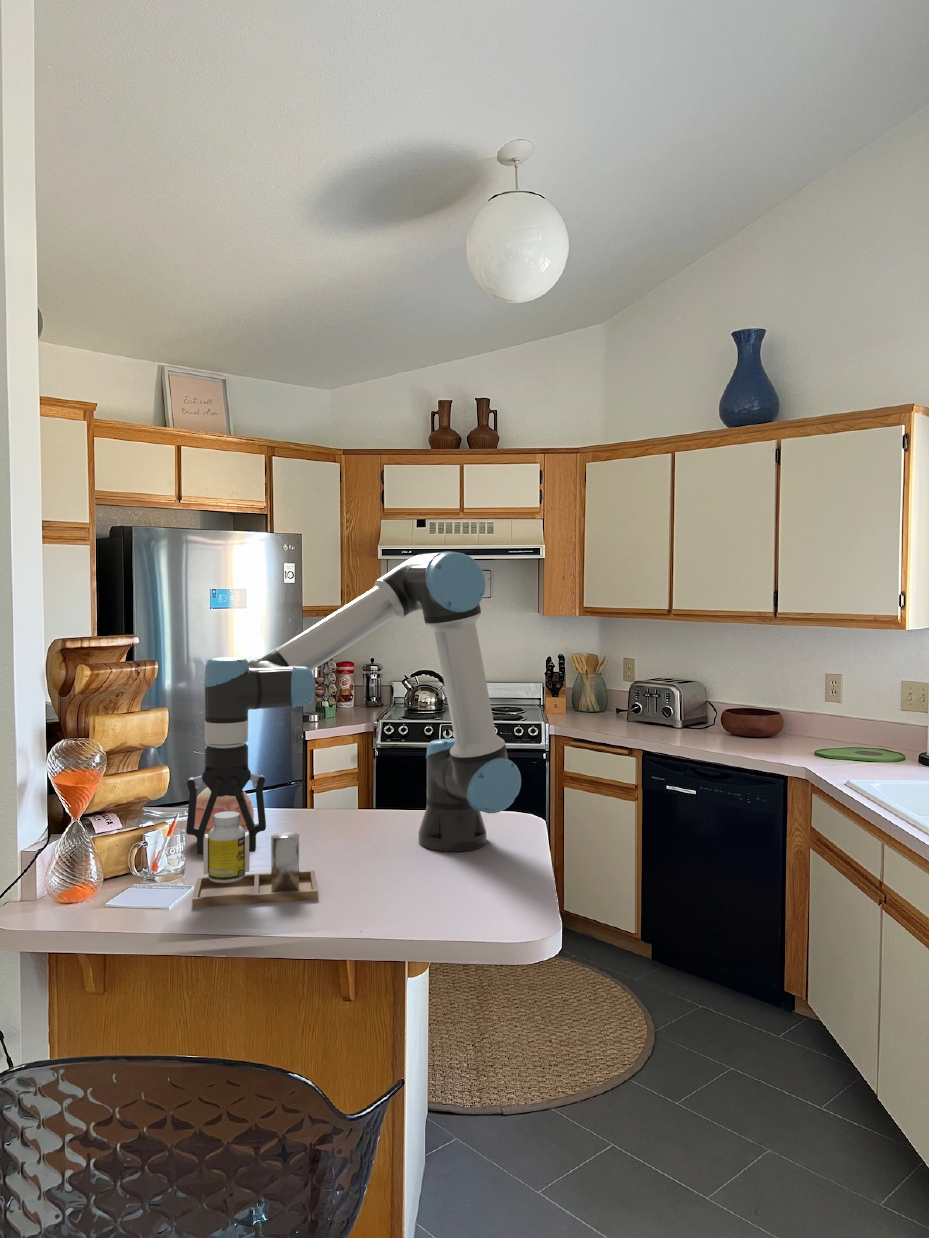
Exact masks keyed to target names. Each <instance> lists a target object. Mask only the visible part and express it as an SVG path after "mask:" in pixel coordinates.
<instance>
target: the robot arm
mask: <svg viewBox="0 0 929 1238" xmlns="http://www.w3.org/2000/svg"><path fill="white" fill-rule="evenodd" d="M486 586H487V585H486V578H485V574H484V571H483V569H482V567H481V566H480V564H479V563H478V562H477V561H476V560H475V559H474V558H473V557H471V556H469V555H468V554H465V553H462V552H457V551H452V550H451V551H450V550H448V551H439V552H438V551H437V552H424V553H419V554H417V555H414V556H413V557H410V558H408V559H407V560H405V561H404V562H402V563H401V564H398V565H397V566H396V567H394V568H393V569H392V570H390V571H389V572H387V573H385V574H384V575H382V576H381V577H379V578H378V579H376V580H375V581H374V586H373V588H371V589H370V590H368V591H366V592H365V593H363V594H362V595H359V596H358V597H356V598H355V599H354V600H352V601H351V602H349V603H347V604H345V605H344V606H343V607H341V608H340V609H337V610H336V611H334V612H333V613H331V614H330V615H328V616H327V617H325V618H323V619H322V620H320V621H318V622H317V623H316V624H314V625H312V626H310V627H309V628H308V629H306V630H304V631H302V632H301V633H300V634H298V635H296V636H294V637H293V638H292V639H290V640H289V641H286V642H285V643H284V644H282V645H280V646H278V647H277V648H276V649H274V650H273V651H271V652H268V653H267V654H266V655H264V656H262V657H261V658H256V659H252V660H249V661H248V660H247V658H244V657H237V656H235V657H233V656H232V657H231V656H230V657H229V656H226V657H224V656H223V657H213V658H210V659H208V661H206V664H205V669H204V671H205V672H204V683H203V686H204V743H206V746H205V747H204V771H203V772H202V774H201V775H199V776H195V777H194V776H190V777H189V778H188V779H187V782H186V785H187V789H188V792H189V797H188V807H187V808H188V809H187V816H186V817H187V819H186V827H185V828H186V829H185V833H186V834H187V835H188V836H194V837H196V853H197V855H198V856H203V875H208V834H205V830H206V827H207V824H208V822H209V819H210V816H211V813H212V810H213V807H214V804H215V802H216V799H217V797H222V796H226V795H227V796H235V797H236V800H237V802H238V804H239V807H240V810H241V812H242V815H243V818H244V821H245V823H246V826H247V829H248V831H247V832H245V873H249V872H250V864H251V863H250V859H251V857H250V856H251V855H250V853H255V852H256V850H257V834H258V833H260V832H265V831H266V829H267V820H266V811H265V809H266V808H265V799H264V787H265V783H266V776H265V774H255V773H251V770H250V768H249V745H248V744H247V742H248V741H249V710H260V709H263V710H264V709H283V708H292V709H295V708H298V707H305V706H309V705H310V704H312V702H313V699H314V696H315V687H316V686H315V678H314V675H313V672H312V671H314V670H315V669H316V668H318V667H320V666H321V665H323V664H324V663H326V662H327V661H329V660H331V659H332V658H333V657H335V656H336V655H338V654H340V653H341V652H343V651H345V650H346V649H347V648H349V647H351V646H352V645H354V644H355V643H357V642H358V641H360V640H361V639H363V638H365V637H366V636H367V635H369V634H371V633H373V632H374V631H376V630H377V629H379V628H381V626H383V625H385V624H386V623H388V622H389V621H391V620H393V619H398V620H401V619H403V618H405V617H406V616H407V615H409V614H412V613H413V612H416V611H419V610H422V615H423V619H424V624H425V625H426V626H428V627H429V628H430V629H432V630H433V633H434V637H435V643H436V648H437V653H438V658H439V664H440V668H441V674H442V679H443V684H444V691H445V694H446V695H445V696H446V700H447V705H448V710H449V716H450V720H451V726H452V732H453V738H443V739H441V738H439V739H434V740H432V741H430V742H429V743H428V744H427V746H426V747H427V748H426V755H425V759H426V807H425V808H426V809H425V811H424V813H423V817H422V820H421V823H420V827H419V829H418V844H419V845H420V846H421V847H424V848H426V849H429V850H433V851H434V850H435V851H440V852H463V851H464V852H465V851H472V850H476V849H479V848H481V847H483V846H485V845H486V844H487V836H488V835H487V829H486V826H485V823H484V820H483V817H482V812H483V813H485V814H498V813H500V812H503V811H505V810H506V809H507V808H510V806H511V805H512V804H513V803H514V802H515V799H516V797H518V795H519V794H520V791H521V787H522V777H521V772H520V770H519V768H518V766H517V764H515V763H514V762H513V761H512V760H510V759H509V757H508V753H507V747H506V746H507V745H506V742H505V739H503V738H502V737H500V736H499V735H497V733H496V727H495V722H494V716H493V711H492V706H491V701H490V699H491V698H490V694H489V690H488V684H487V678H486V672H485V667H484V663H483V657H482V651H481V647H480V645H481V644H480V641H479V635H478V634H479V633H478V630H477V629H478V628H477V620H479V618H480V616H481V615H482V610H481V601H482V600H483V599H482V598H483V596H484V595H485V593H486ZM250 781H251V783H252V784H251V785H252V786H253V787H254V788H255V798H256V807H257V808H256V809H257V820H258V821H257V822H258V823H256V824H255V821H254V819H253V818H252V815H251V813H250V810H249V807H248V804H247V801H246V799H245V796H244V792H245V791H244V790H243V789H244V788H245V787H246V785H247V784H248V782H250ZM202 783H203V784H205V785H206V788H207V787H208V788H209V789H210V791H211V794H210V797H209V800H208V803H207V806H206V809H205V812H204V814H203V817H202V820H201V823H200V826H199V827H195V816H196V805H197V796H198V795H199V794H198V792H199V791H198V790H199V789H200V788H201V787H202V786H201V785H202ZM243 791H244V792H243Z"/></svg>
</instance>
